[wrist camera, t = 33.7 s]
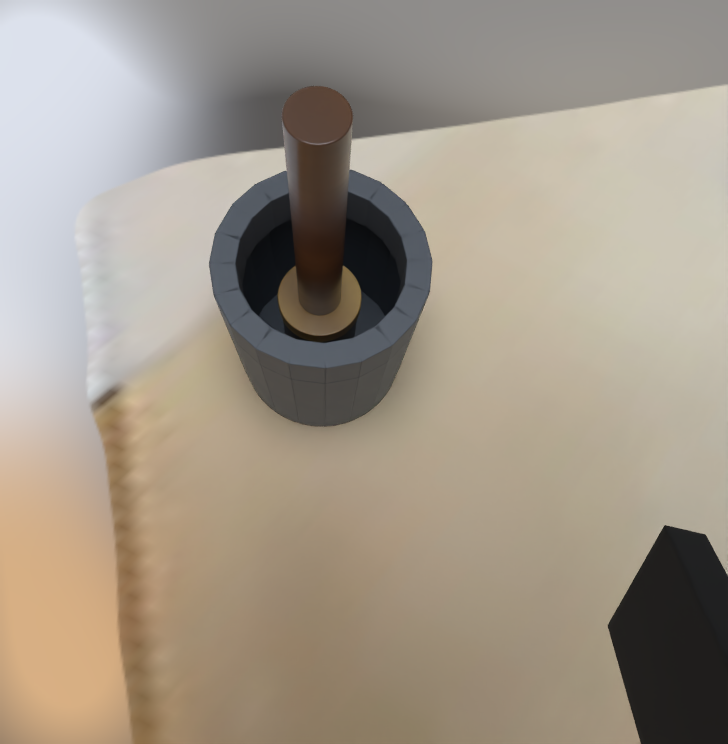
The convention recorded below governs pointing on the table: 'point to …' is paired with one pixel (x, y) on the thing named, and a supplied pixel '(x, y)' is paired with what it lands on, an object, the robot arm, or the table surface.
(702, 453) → the table surface
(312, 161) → the brush
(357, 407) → the grey cylindrical holder
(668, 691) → the robot arm
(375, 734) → the table surface
